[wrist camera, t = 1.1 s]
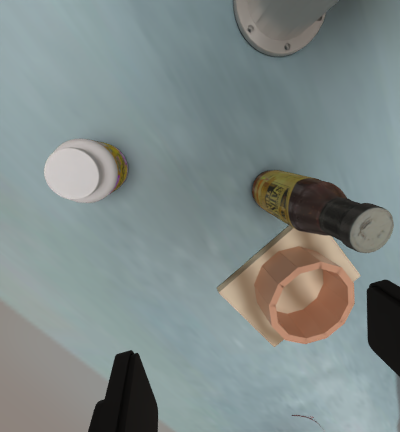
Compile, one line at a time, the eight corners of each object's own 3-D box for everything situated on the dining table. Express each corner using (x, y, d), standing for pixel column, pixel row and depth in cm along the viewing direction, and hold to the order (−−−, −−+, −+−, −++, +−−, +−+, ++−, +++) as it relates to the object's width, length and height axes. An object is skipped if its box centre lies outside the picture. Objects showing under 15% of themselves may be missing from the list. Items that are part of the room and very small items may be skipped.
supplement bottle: (125, 195, 36) (104, 217, 23) (77, 185, 34) (28, 203, 22) (132, 148, 34) (114, 146, 22) (82, 137, 33) (34, 127, 21)
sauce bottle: (245, 177, 38) (328, 202, 19) (282, 163, 38) (402, 173, 19) (256, 216, 39) (342, 274, 20) (292, 202, 40) (410, 247, 21)
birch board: (307, 209, 40) (313, 211, 39) (354, 271, 45) (360, 275, 43) (216, 287, 42) (218, 292, 40) (270, 341, 46) (274, 347, 45)
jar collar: (301, 231, 40) (324, 244, 34) (341, 283, 43) (369, 303, 37) (239, 284, 40) (252, 306, 35) (284, 330, 44) (302, 357, 38)
